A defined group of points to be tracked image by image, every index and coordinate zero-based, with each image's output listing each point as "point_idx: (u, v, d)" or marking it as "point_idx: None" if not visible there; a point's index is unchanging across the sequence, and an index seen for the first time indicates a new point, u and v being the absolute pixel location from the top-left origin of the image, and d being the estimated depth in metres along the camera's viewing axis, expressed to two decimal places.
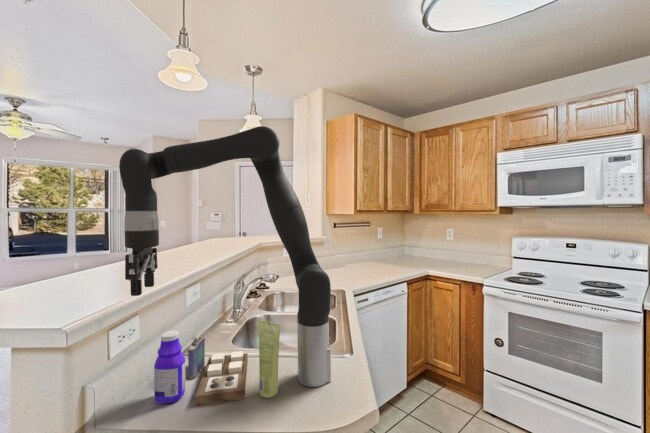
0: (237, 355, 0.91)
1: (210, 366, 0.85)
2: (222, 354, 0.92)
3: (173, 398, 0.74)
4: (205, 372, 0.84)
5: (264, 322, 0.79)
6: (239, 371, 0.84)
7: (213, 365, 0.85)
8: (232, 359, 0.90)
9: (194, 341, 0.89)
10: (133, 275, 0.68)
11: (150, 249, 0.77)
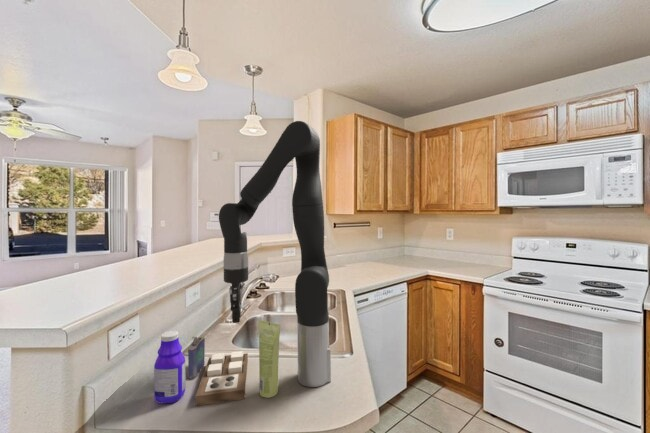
0: (237, 355, 0.91)
1: (210, 366, 0.85)
2: (222, 354, 0.92)
3: (173, 398, 0.74)
4: (205, 372, 0.84)
5: (264, 322, 0.79)
6: (239, 371, 0.84)
7: (213, 365, 0.85)
8: (232, 359, 0.90)
9: (194, 341, 0.89)
10: (236, 308, 0.87)
11: None
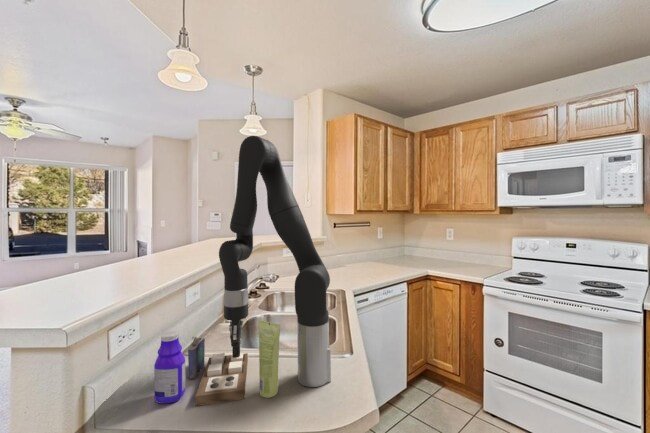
0: (237, 357, 0.91)
1: (210, 366, 0.85)
2: (222, 354, 0.92)
3: (173, 398, 0.74)
4: (205, 372, 0.84)
5: (264, 322, 0.79)
6: (239, 371, 0.84)
7: (213, 365, 0.85)
8: (232, 361, 0.90)
9: (194, 341, 0.89)
10: (237, 344, 0.89)
11: None
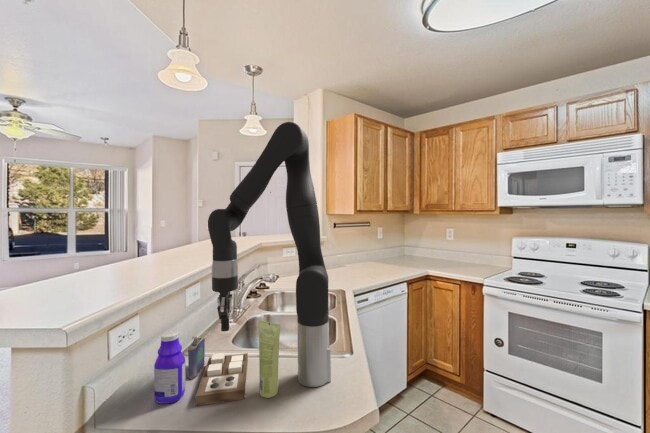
0: (237, 359, 0.91)
1: (210, 366, 0.85)
2: (222, 354, 0.92)
3: (173, 398, 0.74)
4: (205, 372, 0.84)
5: (264, 322, 0.79)
6: (239, 371, 0.84)
7: (213, 365, 0.85)
8: None
9: (194, 341, 0.89)
10: (225, 317, 0.85)
11: None
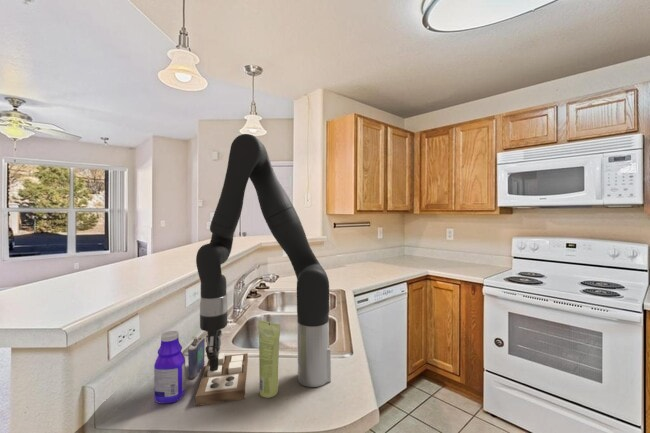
0: (237, 359, 0.91)
1: None
2: (222, 354, 0.92)
3: (173, 398, 0.74)
4: (205, 372, 0.84)
5: (264, 322, 0.79)
6: (239, 371, 0.84)
7: None
8: None
9: (194, 341, 0.89)
10: (214, 357, 0.81)
11: None
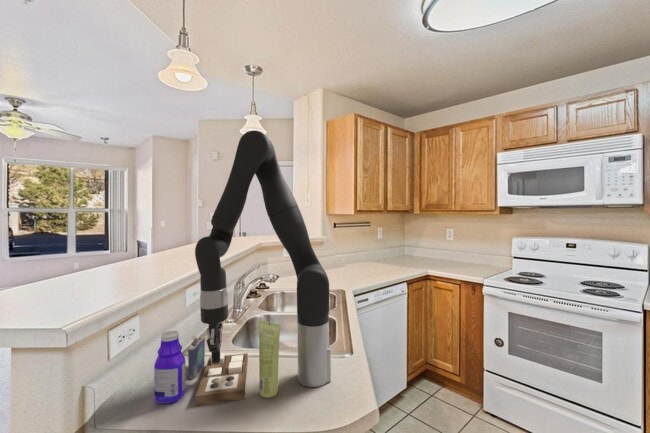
0: (237, 359, 0.91)
1: (210, 370, 0.85)
2: (222, 354, 0.92)
3: (173, 398, 0.74)
4: (205, 372, 0.84)
5: (264, 322, 0.79)
6: (239, 371, 0.84)
7: (213, 370, 0.85)
8: None
9: (194, 341, 0.89)
10: (215, 349, 0.82)
11: None
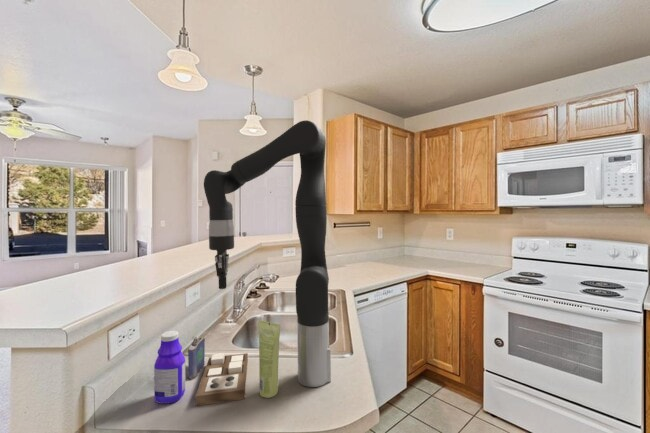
0: (237, 359, 0.91)
1: (210, 370, 0.85)
2: (222, 354, 0.92)
3: (173, 398, 0.74)
4: (205, 372, 0.84)
5: (264, 322, 0.79)
6: (239, 371, 0.84)
7: (213, 370, 0.85)
8: None
9: (194, 341, 0.89)
10: (222, 274, 0.89)
11: (226, 249, 0.95)
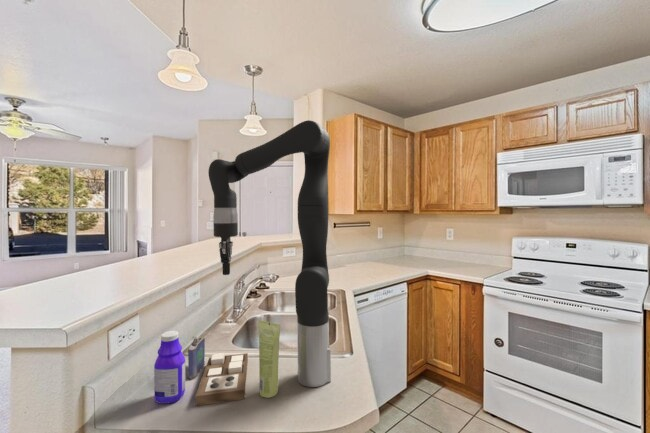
0: (237, 359, 0.91)
1: (210, 370, 0.85)
2: (222, 354, 0.92)
3: (173, 398, 0.74)
4: (205, 372, 0.84)
5: (264, 322, 0.79)
6: (239, 371, 0.84)
7: (213, 370, 0.85)
8: None
9: (194, 341, 0.89)
10: (226, 260, 0.92)
11: None
